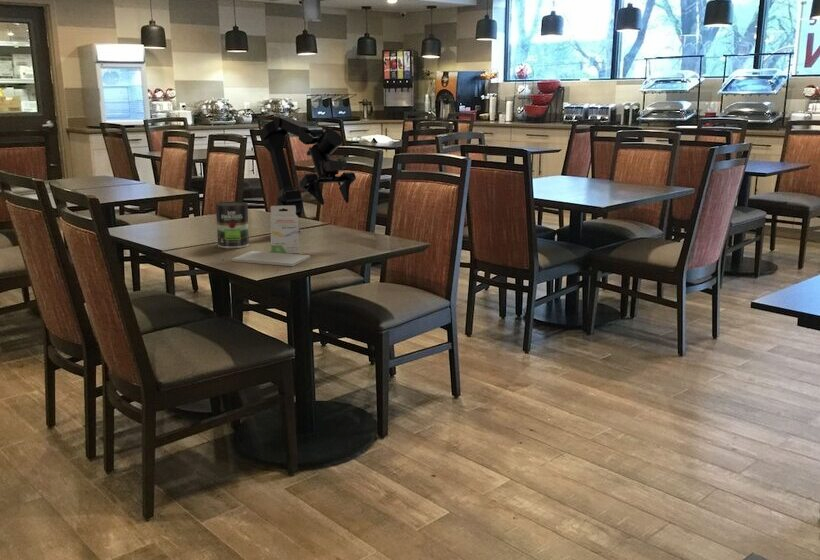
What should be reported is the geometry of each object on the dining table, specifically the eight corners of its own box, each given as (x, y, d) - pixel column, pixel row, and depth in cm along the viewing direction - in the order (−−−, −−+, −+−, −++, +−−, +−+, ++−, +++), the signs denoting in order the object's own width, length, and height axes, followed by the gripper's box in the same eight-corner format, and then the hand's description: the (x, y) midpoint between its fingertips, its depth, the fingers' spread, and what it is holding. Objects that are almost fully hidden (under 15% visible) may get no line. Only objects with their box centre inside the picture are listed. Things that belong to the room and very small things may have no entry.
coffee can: (249, 248, 242) (247, 205, 239) (217, 249, 240) (214, 206, 237) (249, 242, 252) (247, 200, 249) (218, 243, 250) (216, 201, 247)
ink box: (272, 254, 233) (270, 208, 229) (270, 251, 238) (269, 205, 234) (299, 253, 235) (298, 207, 232) (297, 250, 240) (296, 204, 236)
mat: (232, 261, 223) (232, 258, 223) (252, 253, 235) (252, 250, 234) (292, 266, 218) (292, 263, 217) (310, 257, 229) (310, 255, 228)
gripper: (306, 149, 234) (320, 194, 230) (356, 148, 245) (370, 190, 241) (293, 166, 242) (306, 209, 239) (341, 164, 253) (355, 205, 250)
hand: (335, 203), depth 242 cm, fingers open, 9 cm apart
